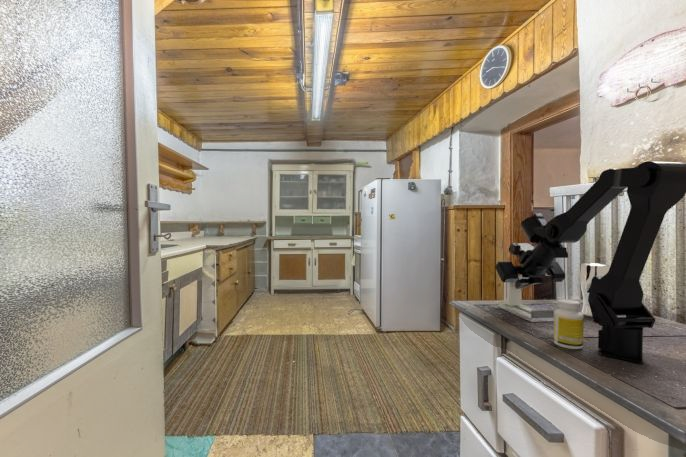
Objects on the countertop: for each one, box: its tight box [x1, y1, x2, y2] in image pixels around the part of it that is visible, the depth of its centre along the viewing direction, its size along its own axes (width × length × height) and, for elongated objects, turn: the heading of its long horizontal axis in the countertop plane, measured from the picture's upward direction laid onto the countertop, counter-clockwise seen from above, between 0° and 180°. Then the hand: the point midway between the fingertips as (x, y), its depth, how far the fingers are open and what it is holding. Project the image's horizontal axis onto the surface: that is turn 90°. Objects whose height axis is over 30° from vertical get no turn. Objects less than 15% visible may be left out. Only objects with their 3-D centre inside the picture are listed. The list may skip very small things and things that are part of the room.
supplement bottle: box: [553, 298, 585, 350], centre depth 72 cm, size 5×5×10 cm
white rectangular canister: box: [503, 281, 523, 306], centre depth 102 cm, size 3×4×11 cm
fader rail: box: [498, 303, 555, 323], centre depth 97 cm, size 16×7×3 cm, turn 6°
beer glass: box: [579, 262, 610, 318], centre depth 96 cm, size 7×7×15 cm
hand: (516, 287), depth 100 cm, fingers closed
